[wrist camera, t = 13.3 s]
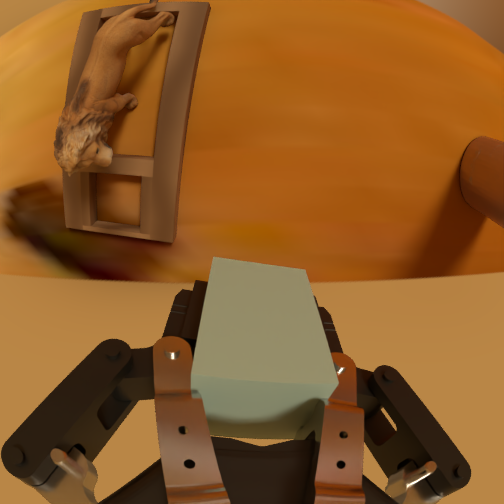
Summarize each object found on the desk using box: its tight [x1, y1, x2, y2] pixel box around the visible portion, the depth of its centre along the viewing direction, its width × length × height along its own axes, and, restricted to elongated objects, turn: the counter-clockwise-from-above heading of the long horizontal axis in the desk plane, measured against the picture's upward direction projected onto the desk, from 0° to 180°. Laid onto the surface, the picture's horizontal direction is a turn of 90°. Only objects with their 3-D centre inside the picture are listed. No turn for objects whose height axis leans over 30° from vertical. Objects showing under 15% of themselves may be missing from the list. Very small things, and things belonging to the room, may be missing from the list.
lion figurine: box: [54, 0, 174, 177], centre depth 14 cm, size 15×5×9 cm, turn 161°
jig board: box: [63, 2, 211, 243], centre depth 20 cm, size 12×22×2 cm, turn 170°
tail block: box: [191, 257, 339, 439], centre depth 10 cm, size 4×4×6 cm
